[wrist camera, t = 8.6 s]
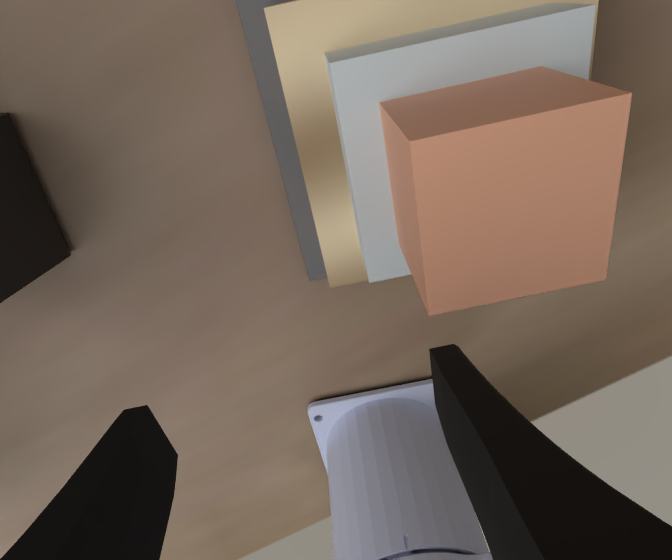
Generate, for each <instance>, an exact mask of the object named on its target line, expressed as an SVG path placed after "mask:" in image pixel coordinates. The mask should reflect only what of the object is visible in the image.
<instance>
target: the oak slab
mask: <svg viewBox="0 0 672 560" xmlns="http://www.w3.org/2000/svg"><path fill="white" fill-rule="evenodd" d="M547 3H568V4H595V16H594V26H593V37H592V47H591V58H590V68H589V79H588V80H590V81H591V74H592V64H593V54H594V44H595V33H596V23H597V13H598V3H599V0H293V1H289V2H284V3H280V4H275V5H271V6H267V7H265V8H264V12H265V16H266V20H267V24H268V29H269V33H270V37H271V41H272V45H273V50H274V54H275V58H276V62H277V66H278V71H279V75H280V79H281V83H282V88H283V92H284V96H285V100H286V104H287V109H288V113H289V117H290V121H291V125H292V130H293V134H294V138H295V142H296V146H297V151H298V155H299V159H300V163H301V168H302V172H303V176H304V180H305V184H306V189H307V193H308V197H309V201H310V205H311V210H312V214H313V218H314V222H315V226H316V231H317V235H318V239H319V243H320V248H321V252H322V256H323V260H324V264H325V269H326V273H327V277H328V281H329V285H330V288H333V287H338V286H343V285H348V284H353V283H358V282H363V281H368V276H367V272H366V268H365V265H364V261H363V257H362V253H361V249H360V244H359V239H358V233H357V228H356V222H355V217H354V212H353V206H352V201H351V195H350V190H349V184H348V179H347V174H346V168H345V163H344V157H343V152H342V147H341V141H340V136H339V130H338V125H337V120H336V114H335V109H334V103H333V98H332V93H331V87H330V82H329V76H328V71H327V66H326V60H325V55H324V53H326V52H331V51H335V50H340V49H344V48H349V47H353V46H358V45H362V44H367V43H371V42H376V41H380V40H385V39H389V38H394V37H398V36H403V35H407V34H412V33H416V32H421V31H425V30H430V29H434V28H439V27H443V26H448V25H452V24H457V23H461V22H466V21H470V20H475V19H479V18H484V17H488V16H493V15H498V14H502V13H507V12H511V11H516V10H520V9H525V8H529V7H534V6H538V5H543V4H547Z"/></svg>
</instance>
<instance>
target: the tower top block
mask: <svg viewBox="0 0 672 560" xmlns="http://www.w3.org/2000/svg"><path fill="white" fill-rule="evenodd" d="M594 16H595V4H568V3H547V4H543V5H538V6H534V7H529V8H525V9H520V10H516V11H511V12H507V13H502V14H498V15H493V16H488V17H484V18H479V19H475V20H470V21H466V22H461V23H457V24H452V25H448V26H443V27H439V28H434V29H430V30H425V31H421V32H416V33H412V34H407V35H403V36H398V37H394V38H389V39H385V40H380V41H376V42H371V43H367V44H362V45H358V46H353V47H349V48H344V49H340V50H335V51H331V52H326V53H324V55H325V60H326V66H327V71H328V76H329V82H330V87H331V93H332V98H333V103H334V109H335V114H336V120H337V125H338V130H339V136H340V141H341V147H342V152H343V157H344V163H345V168H346V174H347V179H348V184H349V190H350V195H351V201H352V206H353V212H354V217H355V222H356V228H357V233H358V239H359V244H360V249H361V253H362V257H363V261H364V265H365V268H366V272H367V276H368V280H369V283H371V282H376V281H381V280H386V279H391V278H396V277H401V276H406V275H411V272H410V270H409V267H408V265H407V262H406V260H405V258H404V255H403V253H402V250H401V248H400V246H399V242H398V235H397V228H396V221H395V213H394V206H393V199H392V192H391V185H390V178H389V171H388V163H387V156H386V149H385V142H384V135H383V128H382V120H381V113H380V106H379V102H382V101H387V100H391V99H396V98H400V97H405V96H409V95H414V94H418V93H423V92H427V91H432V90H436V89H441V88H445V87H450V86H454V85H459V84H463V83H468V82H472V81H477V80H481V79H486V78H490V77H495V76H499V75H504V74H508V73H513V72H517V71H522V70H526V69H531V68H535V67H540V66H543V67H546V68H549V69H553V70H556V71H560V72H563V73H566V74H570V75H573V76H577V77H580V78H583V79H587V80H588V79H589V68H590V58H591V47H592V37H593V26H594Z"/></svg>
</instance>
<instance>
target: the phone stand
mask: <svg viewBox="0 0 672 560" xmlns="http://www.w3.org/2000/svg"><path fill="white" fill-rule="evenodd" d="M70 255H71V253H70V251H69V249H68V247H67V244H66V242H65V240H64V238H63V235H62V233H61V231H60V229H59V227H58V224H57V222H56V220H55V218H54V215H53V213H52V211H51V209H50V207H49V204H48V202H47V200H46V198H45V195H44V193H43V191H42V189H41V187H40V184H39V182H38V180H37V178H36V175H35V173H34V171H33V169H32V166H31V164H30V162H29V160H28V158H27V155H26V153H25V151H24V149H23V146H22V144H21V142H20V140H19V138H18V135H17V133H16V131H15V129H14V126H13V124H12V122H11V120H10V118H9V115H8V113H0V303H1V302H2V301H4V300H5V299H7V298H8V297H10V296H11V295H13V294H14V293H16V292H17V291H19V290H20V289H22V288H23V287H25V286H26V285H28V284H29V283H31V282H32V281H34V280H35V279H37V278H38V277H39V276H41V275H42V274H44V273H45V272H47V271H48V270H50V269H51V268H53V267H54V266H56V265H57V264H59V263H60V262H62V261H63V260H65V259H66V258H68V257H69V256H70Z"/></svg>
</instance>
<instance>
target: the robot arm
mask: <svg viewBox="0 0 672 560" xmlns="http://www.w3.org/2000/svg"><path fill="white" fill-rule="evenodd" d="M429 350H430V360H431V370H432V379H428V380H423V381H418V382H413V383H408V384H403V385H398V386H393V387H387V388H382V389H377V390H372V391H367V392H362V393H357V394H351V395H346V396H341V397H336V398H331V399H326V400H321V401H316V402H312V403H310V404H309V405H308V415H309V418H310V422H311V425H312V428H313V431H314V434H315V437H316V440H317V443H318V446H319V449H320V452H321V455H322V458H323V462H324V465H325V468H326V471H327V474H328V479H329V493H330V507H331V521H332V534H333V549H334V560H672V526H670V525H669V524H667V523H665V522H664V521H662V520H661V519H659V518H658V517H656V516H655V515H653V514H652V513H650V512H649V511H647V510H645V509H644V508H643V507H641V506H640V505H638V504H637V503H635V502H633V501H632V500H631V499H629V498H628V497H626V496H625V495H623V494H622V493H620V492H618V491H617V490H615V489H614V488H613V487H611V486H609V485H608V484H607V483H606V482H604V481H603V480H601V479H600V478H598V477H597V476H596V475H594V474H593V473H592V472H590V471H589V470H588V469H586V468H585V467H584V466H582V465H581V464H580V463H579V462H577V461H576V460H575V459H573V458H572V457H571V456H569V455H568V454H567V453H566V452H564V451H563V450H562V449H561V448H560V447H558V446H557V445H556V444H554V443H553V442H552V441H551V440H550V439H549V438H548V437H546V436H545V435H544V434H543V433H542V432H541V431H539V430H538V429H537V428H536V427H535V426H534V425H533V424H532V423H530V422H529V421H528V420H527V419H526V418H525V417H524V416H523V415H522V414H521V413H520V412H518V411H517V410H516V409H515V408H514V407H513V406H512V405H511V404H510V403H509V402H508V401H507V400H506V399H505V398H504V397H503V396H502V395H501V394H500V393H499V392H498V391H497V390H496V389H495V388H494V387H493V386H492V385H491V384H490V383H489V382H488V381H487V380H486V378H485V377H484V376H483V375H482V374H481V373H480V372H479V371H478V370H477V369H476V367H475V366H474V365H473V364H472V363H471V362H470V361H469V359H468V358H467V357H466V356H465V355H464V353H463V352H462V351H461V350H460V348H459V347H458V346H456V345H455V344H451V345H446V346H441V347H436V348H431V349H429ZM317 415H321V416H317ZM177 458H178V454H177V453H176V451H175V450H174V448H173V446H172V445H171V443H170V441H169V440H168V438H167V436H166V435H165V433H164V432H163V430H162V428H161V427H160V425H159V423H158V422H157V420H156V419H155V417H154V415H153V414H152V412H151V410H150V409H149V407H148V406H147V405H145V406H140V407H135V408H130V409H125V410H123V412H122V413H121V414H120V415H119V416H118V418H117V419H116V420H115V421H114V423H113V424H112V425H111V426H110V428H109V429H108V430H107V432H106V433H105V434H104V435H103V437H102V438H101V439H100V441H99V442H98V443H97V445H96V446H95V447H94V448H93V450H92V451H91V452H90V454H89V455H88V456H87V457H86V459H85V460H84V461H83V463H82V464H81V465H80V466H79V468H78V469H77V470H76V471H75V473H74V474H73V475H72V476H71V478H70V479H69V480H68V482H67V483H66V484H65V485H64V487H63V488H62V489H61V490H60V492H59V493H58V494H57V495H56V496H55V497H54V499H53V500H52V501H51V502H50V503H49V504H48V506H47V507H46V508H45V509H44V510H43V512H42V513H41V514H40V515H39V516H38V517H37V519H36V520H35V521H34V522H33V523H32V525H31V526H30V527H29V528H28V529H27V530H26V532H25V533H24V534H23V535H22V536H21V537H20V538H19V539H18V541H17V542H16V543H15V544H14V545H13V546H12V547H11V548H10V549H9V550H8V551H7V553H6V554H5V555H4V556H3V557H2V558H1V559H0V560H159V559H160V554H161V550H162V546H163V541H164V537H165V533H166V529H167V524H168V520H169V515H170V511H171V506H172V502H173V497H174V490H175V481H176V470H177ZM475 513H476V514H475ZM476 515H477V517H476ZM477 518H478V519H477ZM478 520H479V522H480V525H481V527H482V530H483V533H484V535H485V538H486V541H487V543H488V546H489V549H490V552H489V551H488V548H487V545H486V542H485V540H484V537H483V534H482V531H481V528H480V525H479V522H478Z"/></svg>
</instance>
